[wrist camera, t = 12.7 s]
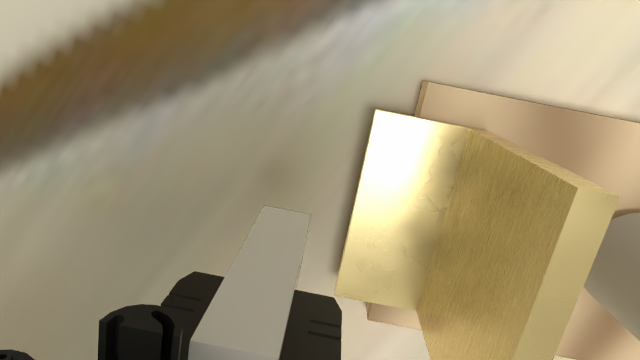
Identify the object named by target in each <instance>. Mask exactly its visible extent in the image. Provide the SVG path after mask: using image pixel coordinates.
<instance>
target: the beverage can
mask: <svg viewBox="0 0 640 360" xmlns="http://www.w3.org/2000/svg"><path fill="white" fill-rule="evenodd" d="M584 287H585V288H586V290H587V291H588V293H589V294H590V295H591V296H592V297H594V298H595V299H596V300H597V301H598V302H599V303H600V304H601V305H602V306H603V307H604V308H605V309H606V310H607V311H608V312H609V313H610V314H611V315H613V316H614V317H615V318H616V319H617V320H618V321H619V322H620V323H621V324H622V325H623V326H624V327H625V328H626V329H627V330H628V331H629V332H630V333H632V334H633V335H634V336H635V337H636V338H637V339H638V340H639V341H640V213H630V214H626V215H623V216H620V217H617V218H614V219H612V220H611V221H610V223H609V226H608V228H607V230H606V233H605V235H604V238H603V240H602V243H601V245H600V247H599V250H598V252H597V255H596V257H595V259H594V262H593V264H592V267H591V269H590V271H589V274H588V276H587V279H586V281H585V283H584Z"/></svg>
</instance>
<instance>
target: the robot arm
mask: <svg viewBox="0 0 640 360" xmlns="http://www.w3.org/2000/svg"><path fill="white" fill-rule="evenodd" d="M310 216H311V215H310V214H305V213H300V212H295V211H290V210H285V209H280V208H275V207H270V206H264V207H263V209H262V210H261V212H260V214H259V216H258V218H257V219H256V221H255V223H254V225H253V227H252V229H251V230H250V232H249V234H248V236H247V238H246V239H245V241H244V243H243V245H242V247H241V249H240V250H239V252H238V254H237V256H236V258H235V259H234V261H233V263H232V265H231V267H230V269H229V270H228V272H227V274H226V276H225V277H220V276H215V275H210V274H205V273H200V272H193V273H191V274H189V275H187V276H186V277H184V278H182V279H180V280H179V281H178V282H177V283H176V285H175V286H174V287H173V289H172V290H171V291H170V293H169V296H167V297H166V298H165V299H164V301H163V302H162V303H161V306H158V305H145V304H140V305H133V306H126V307H123V308H121V309H118V310H116V311H113V312H111V313H109V314H108V315H107V316H105V317H104V318H103V319H101V320H100V321H99V341H98V360H341V325H342V311H341V309H340V307H339V306H338V304H337V302H336V300H335V299H334V298H333V297H328V296H323V295H318V294H313V293H308V292H303V291H298V290H296V288H297V283H298V278H299V273H300V268H301V263H302V258H303V252H304V247H305V242H306V237H307V232H308V227H309V221H310ZM0 360H34V359H33V358H32V357H30V356H29V355H28V354H27V353H24V352H19V351H15V350H0Z"/></svg>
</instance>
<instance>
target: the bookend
mask: <svg viewBox="0 0 640 360" xmlns="http://www.w3.org/2000/svg"><path fill="white" fill-rule="evenodd" d="M620 197H621V196H619V195H617V194H615V193H613V192H611V191H609V190H607V189H605V188H603V187H601V186H599V185H597V184H595V183H593V182H591V181H589V180H587V179H585V178H583V177H581V176H579V175H577V174H575V173H573V172H571V171H569V170H567V169H565V168H563V167H561V166H559V165H557V164H555V163H553V162H550V161H548V160H546V159H544V158H542V157H540V156H538V155H536V154H534V153H532V152H530V151H528V150H526V149H524V148H522V147H520V146H518V145H516V144H514V143H512V142H510V141H508V140H506V139H504V138H502V137H500V136H498V135H496V134H494V133H492V132H490V131H488V130H483V129H477V128H472V127H467V126H462V125H457V124H452V123H447V122H442V121H436V120H431V119H426V118H421V117H416V116H411V115H406V114H400V113H395V112H390V111H385V110H380V109H375V111H374V116H373V120H372V125H371V129H370V133H369V138H368V142H367V147H366V151H365V156H364V160H363V165H362V169H361V174H360V178H359V183H358V187H357V192H356V196H355V200H354V205H353V209H352V214H351V218H350V223H349V227H348V232H347V236H346V241H345V245H344V250H343V254H342V259H341V263H340V268H339V272H338V276H337V281H336V285H335V296H339V297H344V298H349V299H355V300H360V301H365V302H371V303H376V304H381V305H386V306H392V307H397V308H402V309H407V310H413V311H416V312H417V315H418V319H419V322H420V325H421V329H422V332H423V335H424V339H425V342H426V345H427V348H428V352H429V355H430V358H431V360H553V358H554V356H555V353H556V351H557V348H558V346H559V344H560V341H561V339H562V336H563V334H564V332H565V329H566V327H567V324H568V322H569V320H570V317H571V315H572V312H573V310H574V308H575V305H576V303H577V300H578V298H579V296H580V293H581V291H582V288H583V286H584V283H585V281H586V279H587V276H588V274H589V271H590V269H591V267H592V264H593V262H594V259H595V257H596V255H597V252H598V250H599V247H600V245H601V243H602V240H603V238H604V235H605V233H606V230H607V228H608V226H609V223H610V221H611V218H612V216H613V214H614V211H615V209H616V206H617V204H618V202H619V199H620Z"/></svg>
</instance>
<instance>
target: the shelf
mask: <svg viewBox="0 0 640 360" xmlns="http://www.w3.org/2000/svg"><path fill="white" fill-rule="evenodd" d="M414 116H416V117H421V118H426V119H431V120H436V121H442V122H447V123H452V124H457V125H462V126H467V127H472V128H477V129H483V130H488V131H490V132H492V133H494V134H496V135H498V136H500V137H502V138H504V139H506V140H508V141H510V142H512V143H514V144H516V145H518V146H520V147H522V148H524V149H526V150H528V151H530V152H532V153H534V154H536V155H538V156H540V157H542V158H544V159H546V160H548V161H550V162H553V163H555V164H557V165H559V166H561V167H563V168H565V169H567V170H569V171H571V172H573V173H575V174H577V175H579V176H581V177H583V178H585V179H587V180H589V181H591V182H593V183H595V184H597V185H599V186H601V187H603V188H605V189H607V190H609V191H611V192H613V193H615V194H617V195H619V196H621V197H620V199H619V202H618V204H617V206H616V209H615V211H614V214H613V216H612V218H611V220H612V219H614V218H617V217H620V216H623V215H626V214H630V213H640V123H636V122H631V121H626V120H621V119H616V118H611V117H606V116H601V115H596V114H590V113H585V112H580V111H575V110H570V109H565V108H560V107H555V106H550V105H544V104H539V103H534V102H529V101H524V100H519V99H514V98H509V97H504V96H498V95H493V94H488V93H483V92H478V91H473V90H468V89H463V88H458V87H452V86H447V85H442V84H437V83H432V82H427V81H423V83H422V87H421V91H420V95H419V99H418V103H417V107H416V110H415V114H414ZM366 309H367V319H368V320H371V321H376V322H381V323H386V324H392V325H397V326H402V327H407V328H413V329H418V330H422V329H421V325H420V322H419V319H418V315H417V312H416V311H413V310H407V309H402V308H397V307H392V306H386V305H381V304H376V303H371V302H367V305H366ZM555 356H560V357H565V358H571V359H576V360H640V341H639V340H638V339H637V338H636V337H635V336H634V335H633V334H632V333H630V332H629V331H628V330H627V329H626V328H625V327H624V326H623V325H622V324H621V323H620V322H619V321H618V320H617V319H616V318H615V317H614V316H613V315H611V314H610V313H609V312H608V311H607V310H606V309H605V308H604V307H603V306H602V305H601V304H600V303H599V302H598V301H597V300H596V299H595V298H594V297H592V296H591V295H590V294H589V293H588V291H587V290H586V288H585V287H584V286H583V288H582V291H581V293H580V296H579V298H578V300H577V303H576V305H575V308H574V310H573V312H572V315H571V317H570V320H569V322H568V324H567V327H566V329H565V332H564V334H563V336H562V339H561V341H560V344H559V346H558V348H557V351H556V353H555Z"/></svg>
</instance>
